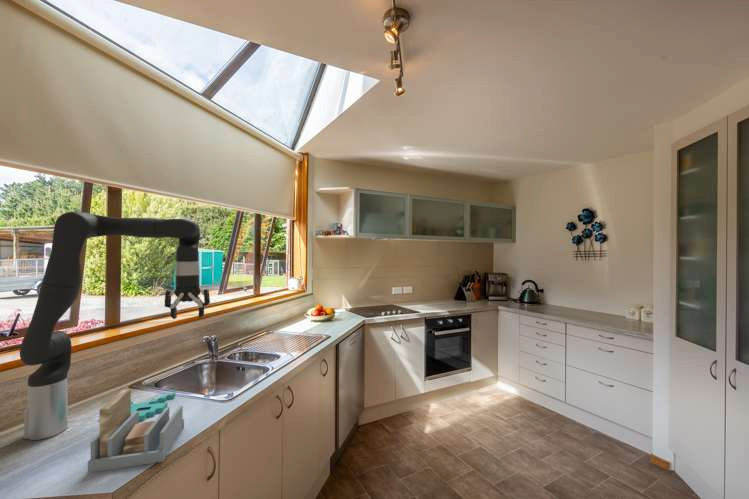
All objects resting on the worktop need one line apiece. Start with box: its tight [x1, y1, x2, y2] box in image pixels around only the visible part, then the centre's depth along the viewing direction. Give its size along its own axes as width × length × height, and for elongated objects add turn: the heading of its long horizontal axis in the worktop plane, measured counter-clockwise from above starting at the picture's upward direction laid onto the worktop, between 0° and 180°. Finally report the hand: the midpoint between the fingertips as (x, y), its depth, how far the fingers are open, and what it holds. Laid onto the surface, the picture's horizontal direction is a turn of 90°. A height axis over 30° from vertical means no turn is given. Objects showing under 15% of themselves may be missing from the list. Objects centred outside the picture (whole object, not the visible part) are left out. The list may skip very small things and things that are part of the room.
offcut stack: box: [122, 420, 155, 455], centre depth 98 cm, size 6×12×5 cm, turn 21°
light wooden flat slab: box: [99, 388, 132, 458], centre depth 96 cm, size 2×13×16 cm, turn 14°
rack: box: [87, 405, 185, 474], centre depth 97 cm, size 18×18×8 cm
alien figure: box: [98, 391, 176, 422], centre depth 119 cm, size 20×2×20 cm
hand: (187, 317), depth 116 cm, fingers open, 8 cm apart
